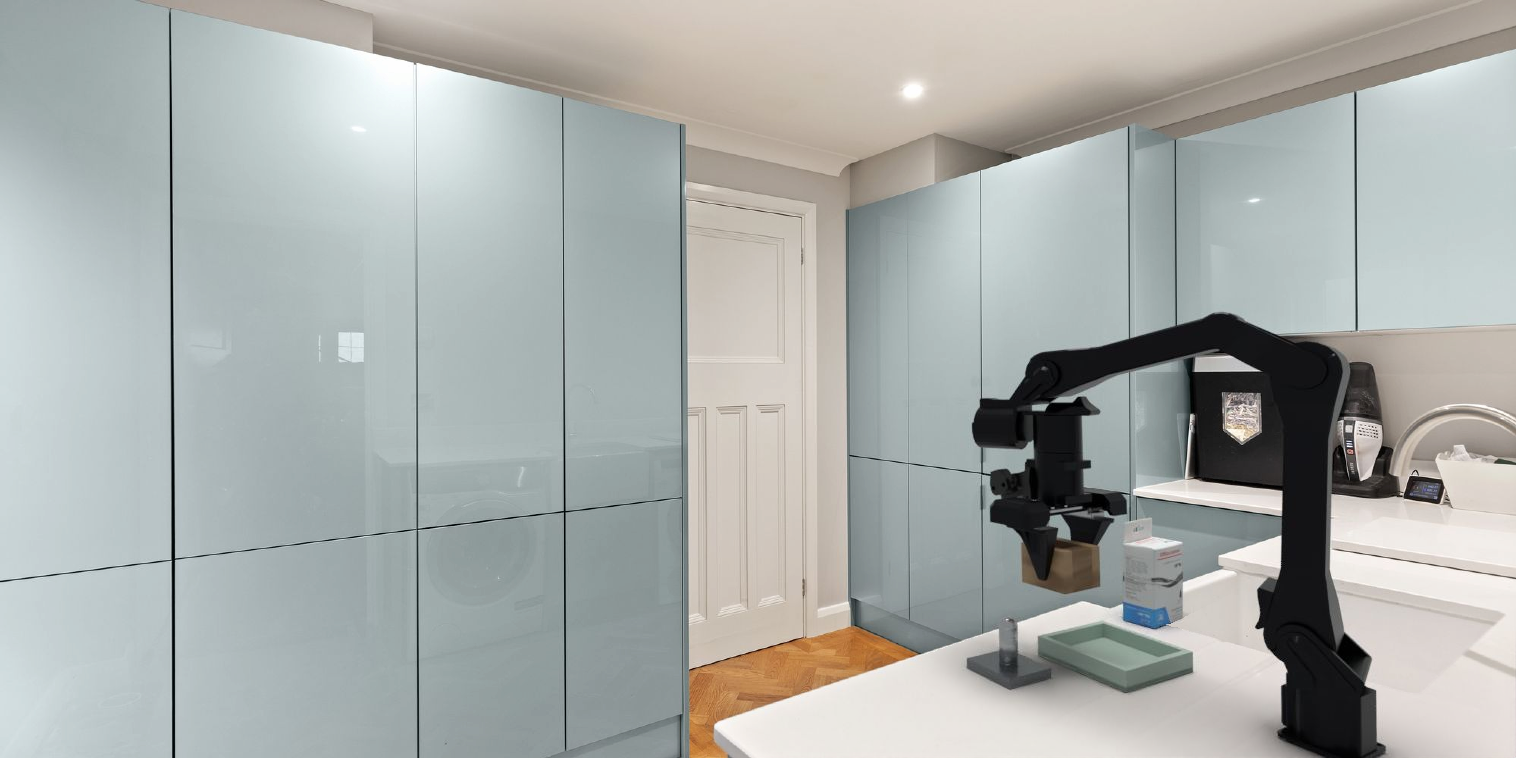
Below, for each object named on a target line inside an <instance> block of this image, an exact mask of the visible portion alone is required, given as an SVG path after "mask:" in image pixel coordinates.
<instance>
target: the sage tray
mask: <svg viewBox="0 0 1516 758" xmlns="http://www.w3.org/2000/svg"><path fill="white" fill-rule="evenodd" d="M1037 656H1039V657H1043V658H1044V659H1046V660H1048V661H1051V662H1053V663H1056V664H1059V665H1060V666H1062V667H1066V668H1068V669H1070V670H1072V671H1075V672H1077V673H1080V674H1082V675H1084V676H1086V677H1088V678H1091V679H1093V680H1094V681H1098V682H1100V683H1103V684H1104V685H1107V686H1110V687H1112V688H1114V689H1115V690H1119V691H1120V692H1123V693H1130V692H1133V691H1137V690H1140V689H1143V688H1145V687H1149V686H1152V685H1155V684H1159V683H1162V682H1165V681H1168V680H1172V679H1174V678H1177V677H1182V676H1184V675H1188V674H1190V673H1193V672H1194V652H1193V650H1189V649H1186V648H1184V647H1180V646H1177V645H1175V644H1172V643H1169V642H1166V641H1162V640H1161V639H1157V638H1154V637H1151V636H1149V635H1145V634H1142V633H1140V632H1136V631H1134V630H1131V629H1129V628H1128V629H1127V628H1126V627H1122V626H1119V625H1116V624H1113V623H1110V622H1107V621H1105V620H1098V621H1095V622H1089V623H1087V624H1082V625H1078V626H1073V627H1069V628H1066V629H1060V630H1056V631H1052V632H1048V633H1044V634H1039V635H1037Z"/></svg>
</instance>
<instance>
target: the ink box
mask: <svg viewBox="0 0 1516 758" xmlns="http://www.w3.org/2000/svg"><path fill="white" fill-rule="evenodd" d="M1138 526H1139V527H1140V528H1141V527H1142V530H1139V531H1134V530H1135V529H1137V527H1138ZM1122 533H1123V536H1122V537H1123V539H1122V541H1123V543H1122V620H1123V621H1126V622H1130V623H1133V624H1136V625H1140V626H1144V627H1147V628H1150V629H1157V628H1160V627H1159V626H1161V627H1163V626H1166V625H1169V624H1171V623H1175V622H1177V621H1178V622H1179V621H1181V620H1183V618H1184V613H1183V612H1184V611H1183V610H1184V605H1183V604H1184V576H1183V575H1184V567H1183V566H1184V542H1182V541H1178V540H1174V539H1173V540H1172V539H1168V538H1162V537H1157V536H1153V518H1152V517H1151V516H1150V517H1148V518H1147V517H1146V518H1139V519H1135V520H1132V521H1125V522H1124V524H1123V532H1122Z"/></svg>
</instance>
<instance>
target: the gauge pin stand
mask: <svg viewBox="0 0 1516 758" xmlns="http://www.w3.org/2000/svg"><path fill="white" fill-rule="evenodd" d="M1018 631H1019V626H1018V622H1017V620H1015V618H1013V617H1012V616H1008V615H1007V616H1003V617H1001V619H999V621H998V650H995V651H994V650H993V651H990V652H987V653H982V654H978V655H974V656H969V657H966V668H967V669H969V670H971V671H973V672H974V673H977V674H978V675H980V676H983V677H985V678H986V679H989V680H990V681H992V682H994V683H996V684H998V685H1000V686H1001V687H1004V688H1005V689H1009V690H1013V689H1016V688H1019V687H1024V686H1027V685H1031V684H1035V683H1038V682H1042V681H1044V680H1048V679H1052V678H1053V672H1052V671H1053V668H1052V667H1051V666H1048V665H1047V664H1044V663H1042V662H1039V661H1037V660H1036V659H1032V658H1030V657H1028V656H1026V655H1023V654H1021V653H1020V652H1019V647H1018V646H1019V632H1018Z"/></svg>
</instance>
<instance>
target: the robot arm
mask: <svg viewBox="0 0 1516 758" xmlns="http://www.w3.org/2000/svg"><path fill="white" fill-rule="evenodd" d="M1219 351H1221V352H1222V353H1225V354H1227V355H1228V356H1231V357H1232V358H1234V359H1236V360H1238V361H1240V362H1242V363H1243V364H1245V365H1247V366H1249V367H1251V368H1253V369H1255V370H1257V371H1260V372H1261V373H1264V374H1266V375H1268V376H1269V380H1270V381H1269V383H1270V386H1271V391H1272V396H1273V397H1272V398H1273V401H1274V406H1275V410H1276V412H1277V416H1278V419H1279V423H1280V425H1281V429H1282V434H1283V446H1282V449H1283V451H1282V485H1281V486H1282V491H1281V492H1282V494H1281V497H1282V498H1281V533H1280V535H1281V536H1280V537H1281V538H1280V539H1281V542H1280V569H1279V573H1278V577H1277V578H1274V577H1271V576H1267V578H1266V579H1265V580H1264V581H1263V582H1262V583H1261V584H1260V585H1259V587H1257V589H1256V595H1257V602H1258V607H1259V608H1258V609H1259V618H1258V620H1257V622H1256V623H1255V626H1254V628H1255V629H1256V630H1261V629H1262V636H1263V641H1264V644H1265V646H1266V648H1267V650H1268V651H1270V652H1271V653H1272V655H1274V656H1275V658H1276V659H1278V660H1279V661H1280V662H1282V663H1283V665H1284V667H1285V669H1286V672H1285V683H1284V684H1282V685H1281V686H1280V705H1281V706H1280V713H1281V714H1280V716H1281V717H1280V719H1281V720H1280V721H1281V724H1282V725H1283V726H1284V727H1283V728H1280V729H1278V730H1276V732H1277V737H1279V738H1281V739H1283V740H1286V741H1288V742H1291V743H1293V744H1295V745H1298V746H1301V747H1303V748H1305V749H1308V750H1310V751H1313V752H1315V753H1318V754H1320V755H1322V756H1324V757H1325V756H1326V757H1327V758H1376V757H1377V756H1380V755H1381V754H1383V753H1386V751H1387V746H1386V745H1385V744H1384V743H1381V742H1378V731H1377V729H1378V728H1377V727H1378V725H1377V723H1378V721H1377V720H1378V719H1377V709H1378V708H1377V705H1378V704H1377V689H1374V688H1372V687H1368V686H1366V682H1367V679H1368V675H1369V672H1370V668H1371V665H1372V661H1373V657H1372V656H1371V655H1370V654H1369V653H1368V652H1367V651H1366V650H1365V649H1364V648H1363V647H1362V646H1360V645H1359V644H1358V643H1357V642H1356V641H1355V640H1354V639H1353V638H1352V637H1351V636H1350V635H1349V634H1348V633H1346V632H1345V628H1344V627H1345V626H1344V622H1343V617H1342V610H1341V607H1340V602H1339V597H1338V594H1337V590H1336V588H1335V585H1334V580H1333V577H1332V573H1331V537H1332V536H1331V535H1332V534H1331V533H1332V531H1331V530H1332V528H1331V527H1332V493H1333V454H1334V453H1333V443H1334V433H1335V429H1336V427H1337V423H1338V421H1339V420H1338V419H1339V417H1340V413H1341V411H1342V407H1343V404H1344V400H1345V396H1346V392H1347V387H1348V384H1349V380H1350V376H1351V368H1350V367H1351V366H1350V362H1349V360H1348V358H1347V357H1346V356H1345V354H1343V353H1342V352H1341V351H1339V350H1338V349H1337V348H1335V347H1334V346H1330V345H1327V344H1326V343H1320V342H1318V341H1317V342H1316V341H1307V340H1305V341H1299V342H1298V341H1297V342H1295V341H1292V340H1290V339H1288V338H1285V337H1284V336H1281V335H1278V334H1276V333H1274V332H1271V331H1269V330H1266V329H1264V328H1262V327H1260V326H1257V325H1255V324H1253V323H1250V322H1248V321H1246V320H1245V318H1243V317H1241V316H1239V315H1237V314H1234V313H1231V312H1227V311H1215V312H1212V313H1209V314H1208V315H1206V316H1204V317H1202V318H1199V319H1196V320H1192V321H1188V322H1184V323H1180V324H1176V325H1173V326H1169V327H1166V328H1162V329H1159V330H1155V331H1152V332H1148V333H1145V334H1144V333H1143V334H1140V335H1137V336H1134V337H1130V338H1129V337H1128V338H1126V339H1123V340H1118V341H1114V342H1112V343H1108V344H1103V345H1099V346H1092V347H1079V348H1067V349H1058V350H1048V351H1042V352H1039V353H1036V354H1034V355H1032V357H1031V358H1030V359H1029V361H1028V363H1027V364H1026V367H1025V371H1024V377H1023V379H1022V380H1021V382H1020V383H1019V384H1018V386H1017V387H1016V389H1015V390H1014V391H1013V393H1012V395H1011V396H1010V397H1009V399H1008V398H1007V399H1006V398H1005V399H1004V398H1003V399H1000V398H997V397H984V398H983V397H981V398H980V399H979V406H978V408H977V410H976V412H975V414H974V416H973V422H972V423H971V434H972V439H973V440H974V443H975V444H976V447H979V448H982V449H1005V450H1019V451H1020V450H1024V449H1026V447H1027V446H1028V444H1029V443H1031V442H1032V443H1033V458H1026V461H1025V462H1024V471H1020V472H1013V473H1012V472H1011V471H1010V470H1009V469H1008V468H999V469H995V470H992V471H990V474H989V475H990V476H989V487H990V491H991V494H992V495H994V496H995V497H996V496H1000V498H998V499H997V498H995V499H994V500H993V502H992V503H990V505H989V522H990V523H992V524H993V523H994V524H999V525H1003V526H1006V528H1008V529H1013V531H1015V532H1016V534H1018V536H1020V539H1021V540H1022V542H1024V544H1025V547H1026V549H1027V551H1028V554H1029V557H1030V559H1031V562H1032V564H1033V567H1034V570H1035V572H1036V575H1037V578H1038V579H1039V580H1043V581H1046V580H1047V578H1048V575H1049V572H1050V568H1051V563H1052V558H1053V553H1054V548H1055V543H1056V539H1057V537H1058V533H1059V527H1056V526H1055V527H1054V526H1050V521H1051V517H1053V516H1054V517H1055V516H1059V515H1060V516H1061V517H1062V518H1063V520H1064V522H1065V524H1066V525H1067V526H1068V529H1069V533H1070V540H1073V541H1078V542H1082V543H1087V544H1092V545H1097V546H1099V544H1100V542H1101V540H1102V539H1103V537H1104V535H1105V533H1106V532H1107V530H1108V528H1109V527H1110V525H1111V524H1114V523H1115V518H1113V517H1117V516H1123V515H1128V502H1127V501H1128V500H1127V498H1126V496H1124V494H1122V492H1121V491H1117V490H1108V489H1101V488H1094V487H1086V488H1085V486H1084V485H1085V483H1084V482H1085V481H1084V470H1087V469H1092V460H1091V459H1084V447H1083V445H1084V443H1083V442H1084V441H1083V417H1086V416H1087V417H1090V416H1091V417H1092V416H1099V415H1100V414H1101V410H1100V408H1098V407H1097V406H1095V405H1094V404H1092V402H1090V400H1089V399H1088V398H1087V396H1085V395H1082V396H1077V397H1076V398H1075V399H1074V400H1073V401H1072V402H1070V401H1062V402H1061V401H1060V402H1056V400H1058V399H1059V398H1067V397H1069V398H1071V397H1072V396H1073V397H1074V396H1076V395H1078V394H1080V393H1083V392H1085V391H1087V390H1090V389H1091V388H1095V387H1097V386H1098V385H1100V384H1103V383H1104V382H1106V381H1108V380H1110V379H1112V378H1114V377H1117V376H1122V375H1124V374H1128V373H1134V372H1137V371H1140V370H1141V371H1142V370H1145V369H1149V368H1153V367H1158V366H1162V365H1166V364H1169V363H1174V362H1177V361H1178V362H1179V361H1181V360H1186V359H1190V358H1191V359H1192V358H1194V357H1198V356H1202V355H1203V356H1204V355H1207V354H1210V353H1215V352H1219ZM1038 405H1040V406H1041V405H1047V406H1046V408H1045V409H1044V410H1035V409H1034V410H1033V406H1038ZM1105 512H1106V513H1107V514H1108V515H1109V516H1112V517H1107V516H1105Z"/></svg>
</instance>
